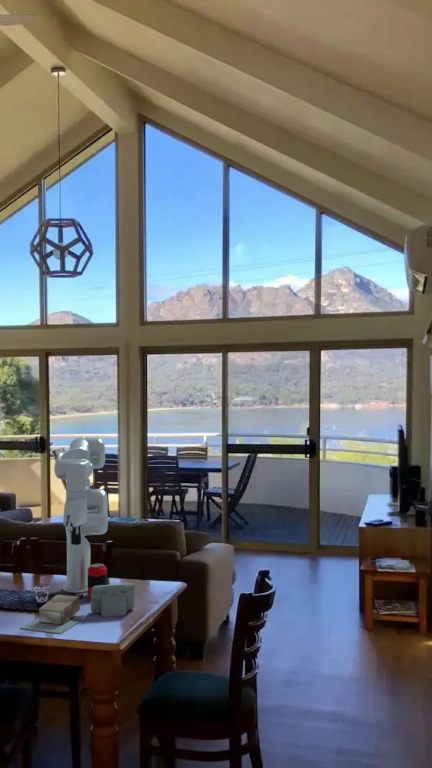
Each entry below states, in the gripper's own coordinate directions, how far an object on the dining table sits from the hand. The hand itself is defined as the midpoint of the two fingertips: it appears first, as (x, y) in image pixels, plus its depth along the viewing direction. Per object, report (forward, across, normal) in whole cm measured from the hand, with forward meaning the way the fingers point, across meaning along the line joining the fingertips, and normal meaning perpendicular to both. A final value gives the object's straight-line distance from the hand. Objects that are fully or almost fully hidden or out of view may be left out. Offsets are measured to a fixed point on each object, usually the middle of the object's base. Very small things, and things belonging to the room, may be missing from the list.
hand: (76, 544), depth 242 cm
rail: (+24, +9, 0) cm, 26 cm away
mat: (+24, +18, 0) cm, 30 cm away
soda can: (+25, -20, -2) cm, 32 cm away
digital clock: (+25, -2, +14) cm, 29 cm away
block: (+20, +5, 0) cm, 20 cm away
